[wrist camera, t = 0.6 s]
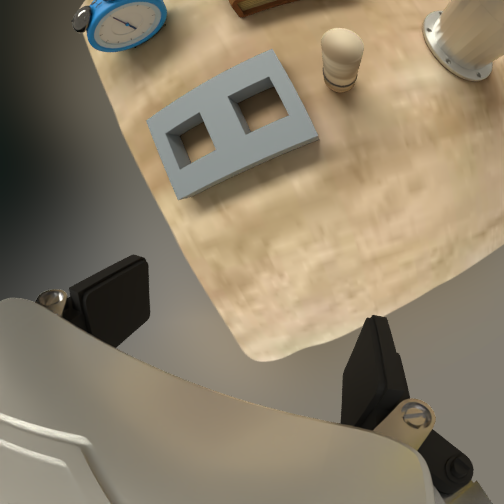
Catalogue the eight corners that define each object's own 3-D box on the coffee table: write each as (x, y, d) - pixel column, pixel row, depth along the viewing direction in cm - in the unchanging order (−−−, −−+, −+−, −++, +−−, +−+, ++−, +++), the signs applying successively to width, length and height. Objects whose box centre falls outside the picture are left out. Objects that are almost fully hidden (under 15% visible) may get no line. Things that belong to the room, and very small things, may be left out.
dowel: (334, 63, 28) (335, 20, 17) (360, 80, 28) (372, 43, 17) (317, 83, 30) (311, 46, 19) (343, 101, 30) (350, 70, 19)
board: (277, 59, 30) (272, 48, 26) (319, 139, 32) (318, 135, 29) (161, 123, 37) (146, 120, 33) (191, 196, 39) (178, 200, 36)
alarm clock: (124, 60, 35) (63, 41, 21) (117, 40, 34) (61, 20, 20) (182, 18, 31) (129, -20, 17) (172, 0, 30) (123, -36, 16)
